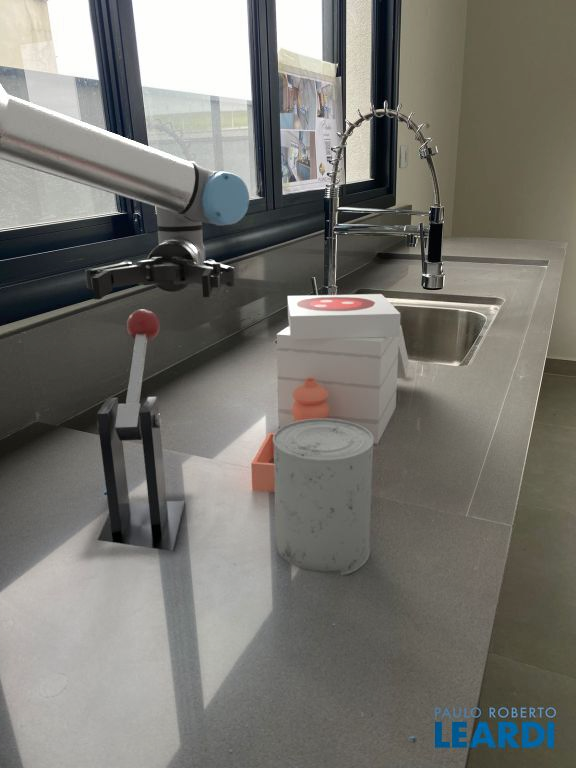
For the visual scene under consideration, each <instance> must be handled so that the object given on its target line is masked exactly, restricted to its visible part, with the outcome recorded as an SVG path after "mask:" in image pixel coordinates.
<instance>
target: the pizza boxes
mask: <svg viewBox="0 0 576 768" xmlns="http://www.w3.org/2000/svg"><path fill="white" fill-rule="evenodd" d="M401 314H402V313H401V312H400V311H398V309H397V308H396V307H395V306H394V305H393V304H392V303H391V302H390V301H389V300H388V299H387V298H386V297H385V296H384V295H383V294H382V293H364V294H363V293H362V294H361V293H359V294H317V295H315V294H313V295H287V319H288V326H287V327H285V328H284V329H282V330H280V331H279V332H278V333H276V371H277V373H276V375H277V376H276V377H277V378H276V379H277V419H278V421H277V423H278V425H277V426H278V428H281V427H283V426H285V425H287V424H289V423H292V422H293V421H294V420H295V418H294V416H293V415H292V405H293V404H294V402H295V399H294V398H293V391H294V390H295V389H296V388H297V387H299V386H302V385H305V381H304V380H305V379H306V378H315V379H316V380H317V382H316V385H320V386H322V387H324V388H325V389H326V390H327V391H328V395H329V396H328V398H327V399H326V402H327V403H328V405H329V408H330V412H329V415H328V417H327V418H326V419H338V420H344V421H349V422H352V423H355V424H358V425H360V426H362V427H364V428H366V429H367V430H369V431H370V433H371V434H372V435H373V438H374V443H373V445H378V444H379V443H380V440H381V439H382V437H383V435H384V432H385V430H386V428H387V426H388V424H389V422H390V420H391V419H392V416H393V414H394V412H395V411H396V407H397V389H398V388H397V387H398V385H397V384H398V379H402V380H403V379H405V380H407V377H408V371H409V366H410V361H409V357H408V351H407V348H406V342H405V337H404V332H403V328H402V325H401V316H402V315H401Z"/></svg>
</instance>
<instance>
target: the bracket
mask: <svg viewBox="0 0 576 768" xmlns="http://www.w3.org/2000/svg"><path fill="white" fill-rule="evenodd" d="M118 404H119V399H118V397H108V398H106V400H105V402H104V403H103V404H102V406H101V407H100V408H99V410H98V412H97V413H96V418H97V428H98V434H99V443H100V450H101V458H102V459H101V460H102V466H103V475H104V483H105V491H106V499H107V506H108V515H107V517H106V520H105V522H104V524H103V526H102V529H101V531H100V533H99V535H98V537H97V541H101V542H107V543H114V544H122V545H128V546H136V547H142V548H147V549H148V548H149V549H155V550H156V549H157V550H162V551H170V552H175V551H176V547H177V542H178V538H179V533H180V529H181V524H182V520H183V516H184V511H185V507H186V501H185V500H169V501H168V500H167V489H166V477H165V464H164V455H163V445H162V433H161V428H162V424H163V422H162V421H163V420H162V414H161V413H160V410H159V399H158V396H147V398H146V400H145V402H144V404H143V405H142V406H141V407H142V409H141V411H140V421H141V431H142V440H141V441H142V449H143V459H144V460H143V461H144V470H145V480H146V491H147V499H148V500H147V501H143V502H142V501H140V502H130V496H129V488H128V486H129V485H128V478H127V470H126V460H125V451H124V443H123V440H119V437H118V435H117V432H116V430H115V421H116V415H117V408H118Z"/></svg>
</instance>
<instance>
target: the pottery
mask: <svg viewBox="0 0 576 768" xmlns="http://www.w3.org/2000/svg"><path fill="white" fill-rule="evenodd" d="M304 381H305V385H302V386H299V387H297V388H296V389H295V390H294V391H293V398H294V399H295V402H294V404H293V405H292V415H293V416H294V418H295V420H294V421H293V422H296V421H300V420H306V419H317V418H319V419H326V418H327V417H328V415H329V412H330V408H329V405H328V403H327V402H326V399H327V398H328V396H329V395H328V391H327V390H326V389H325V388H324V387H322V386H320V385H316V382H317V380H316V379H315V378H306V379H305V380H304ZM274 434H275V432H268V433H267V435H266V437H265V438H264V440H263V441H262V443H261V445H260V447H259V449H258V451H257V452H256V454H255V456H254V458H253V459H252V462H251V463H250V466H251V467H250V469H251V486H252V487H251V490H252V491H257V492H258V491H259V492H269V493H275V480H274V462H271V461H272V460H274V444H273V435H274Z"/></svg>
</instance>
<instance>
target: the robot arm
mask: <svg viewBox="0 0 576 768" xmlns="http://www.w3.org/2000/svg"><path fill="white" fill-rule="evenodd" d="M0 160H1V161H5V162H8V163H12V164H15V165H19V166H21V167H25V168H28V169H32V170H34V171H38V172H42V173H44V174H48V175H51V176H55V177H58V178H61V179H64V180H67V181H70V182H74V183H78V184H79V185H83V186H86V187H90V188H94V189H97V190H101V191H104V192H106V193H109V194H113V195H116V196H120V197H123V198H127V199H130V200H133V201H136V202H140V203H143V204H145V205H149V206H152V207H155V211H156V212H155V213H156V220H157V237H158V239H157V240H158V245H157V246H155V247H154V248H153V249H152V250H151V251H150V252H149V255H148V256H147V259H144V260H138V261H136V263H135V265H134V264H133V262H132V261H130V260H125V261H122V262H119V263H114V264H110V265H104V266H100V267H99V266H98V267H95V268H87V269H85V280H86V288H87V289H89V290H92V293H93V300H102V299H103V298H104V297H105V296H107V295H108V294H110V293H111V292H112V291H113V289H114V288H120V287H124V286H131V285H140V286H151V285H154V286H155V287H157V288H158V289H160V290H161V291H164V292H169V293H175V292H181V291H183V290H185V289H186V288H188V287H189V286H190V285H194V284H198V285H201V286H202V297H203V298H209V297H210V296H211V294H212V291H213V289H214V288H216V289H218V288H221V287H222V285H223V286H226V287H229V288H232V287H234V286H236V280H235V279H236V278H235V275H236V274H235V267H233V266H230V265H226V264H224V263H221V262H216V261H215V260H214V259H207V260H206V248H205V246H204V239H203V224H204V223H205V224H211V225H215V226H219V227H221V226H228V225H234V224H237V223H238V222H239V221H241V220H242V219H243V218H244V217H245V215H246V214H247V211H248V209H249V206H250V205H249V204H250V192H249V189H248V186H247V184H246V183H245V181H244V180H243V179H242V177H240V176H239V175H238V174H236V173H233V172H228V171H225V170H211V169H209V168H206V167H205V166H201V165H198V164H197V162H196V161H193V160H185V159H183V158H180V157H177V156H174V155H172V154H169V153H166V152H164V151H161V150H158V149H156V148H153V147H151V146H147V145H145V144H143V143H140V142H137V141H135V140H131V139H128V138H126V137H123V136H121V135H119V134H116V133H113V132H110V131H108V130H104V129H102V128H101V127H97V126H94V125H91V124H89V123H86V122H83V121H81V120H78V119H75V118H72V117H70V116H68V115H64V114H62V113H59V112H57V111H54V110H52V109H49V108H47V107H43V106H41V105H38V104H35V103H32V102H30V101H27V100H25V99H22V98H19V97H17V96H14V95H12V94H9V93H7V92H6V90H5V89H4V87H3V86H2V84H1V83H0Z"/></svg>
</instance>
